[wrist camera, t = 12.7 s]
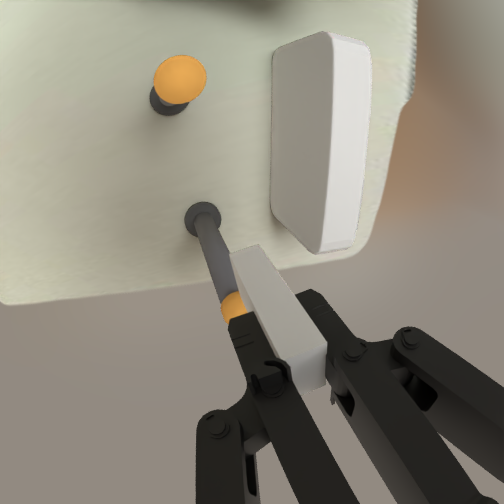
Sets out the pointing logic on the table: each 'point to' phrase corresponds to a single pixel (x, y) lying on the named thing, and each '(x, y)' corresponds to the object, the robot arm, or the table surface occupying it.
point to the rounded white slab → (320, 138)
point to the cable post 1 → (177, 84)
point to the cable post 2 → (216, 256)
